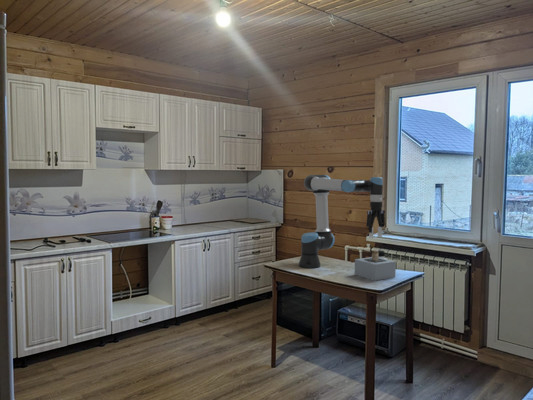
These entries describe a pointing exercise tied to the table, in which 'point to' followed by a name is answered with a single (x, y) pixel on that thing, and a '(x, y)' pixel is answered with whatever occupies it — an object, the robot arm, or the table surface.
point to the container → (381, 254)
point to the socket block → (375, 268)
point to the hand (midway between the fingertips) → (375, 237)
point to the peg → (375, 255)
